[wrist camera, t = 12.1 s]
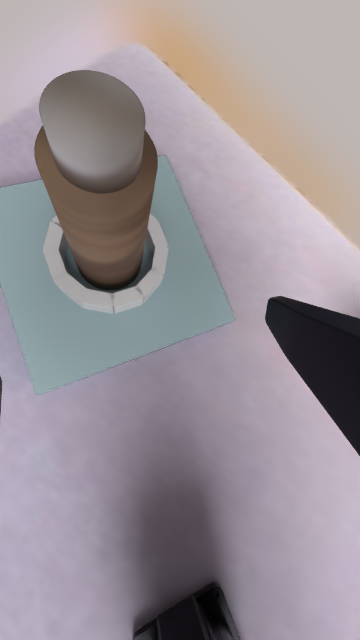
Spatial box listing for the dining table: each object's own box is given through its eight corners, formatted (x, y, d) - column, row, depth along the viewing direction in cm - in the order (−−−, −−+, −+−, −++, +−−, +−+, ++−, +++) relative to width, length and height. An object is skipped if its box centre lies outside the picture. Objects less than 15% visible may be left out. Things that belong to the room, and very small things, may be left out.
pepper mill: (127, 300, 22) (134, 198, 10) (65, 275, 22) (-13, 133, 9) (150, 246, 23) (182, 94, 11) (92, 221, 23) (57, 32, 10)
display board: (231, 321, 25) (245, 314, 22) (40, 394, 21) (26, 397, 18) (164, 162, 26) (169, 136, 24) (-23, 201, 22) (-44, 175, 20)
